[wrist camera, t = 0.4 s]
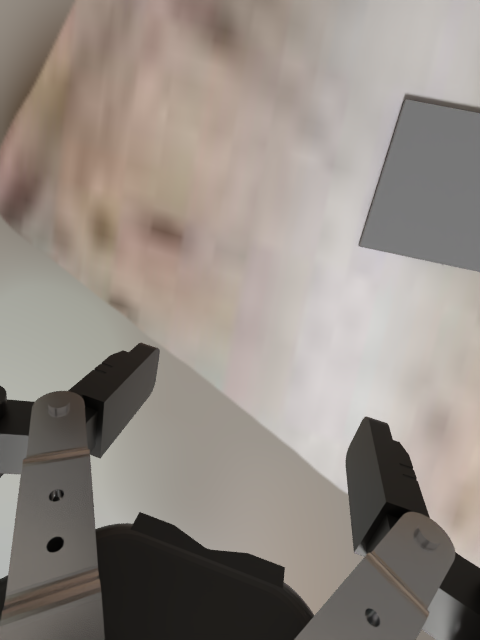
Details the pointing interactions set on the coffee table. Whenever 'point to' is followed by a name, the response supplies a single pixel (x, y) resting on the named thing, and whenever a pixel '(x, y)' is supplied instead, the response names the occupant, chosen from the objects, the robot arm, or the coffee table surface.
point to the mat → (430, 188)
